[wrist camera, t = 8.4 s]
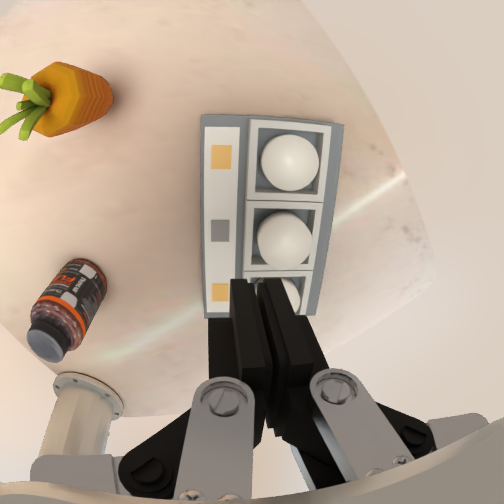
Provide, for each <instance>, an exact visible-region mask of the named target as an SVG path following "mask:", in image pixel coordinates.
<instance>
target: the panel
mask: <svg viewBox="0 0 504 504" xmlns="http://www.w3.org/2000/svg"><path fill="white" fill-rule="evenodd" d="M343 131H344V125H343V124H337V123H330V122H322V121H314V120H304V119H294V118H282V117H268V116H249V115H201V249H202V278H203V300H204V319H208V318H218V317H229V303H230V279H247V281H248V283H253V284H254V285H255V283H256V282H257V281H258V280H259V279H260V278H262V277H290V278H291V279H292V280H293V282H294V284H295V286H296V289H297V291H298V294H299V296H300V306H299V308H298V310H297V311H296V313H295V315H306V316H311V315H315V314H316V309H317V304H318V299H319V294H320V289H321V284H322V279H323V273H324V268H325V263H326V257H327V251H328V245H329V239H330V233H331V227H332V220H333V214H334V207H335V200H336V193H337V185H338V177H339V169H340V160H341V151H342V142H343ZM284 133H288V134H293V135H296V136H299V137H302V138H304V139H306V140H308V141H309V142H310V143H311V144H312V145H313V146H314V148H315V149H316V151H317V154H318V158H319V167H318V171H317V174H316V176H315V177H314V179H313V180H312V181H311V182H310V183H309V184H308V185H307V186H305V187H304V188H302V189H299V190H295V191H286V190H282V189H279V188H277V187H275V186H274V185H273V184H272V183H271V182H270V181H269V180H268V179H267V177H266V176H265V174H264V173H263V171H262V169H261V166H260V153H261V150H262V148H263V146H264V145H265V143H266V142H267V141H268V140H269V139H270V138H272V137H274V136H276V135H279V134H284ZM280 211H286V212H291V213H294V214H296V215H297V216H299V217H300V218H301V219H302V221H303V222H304V224H305V225H306V226H307V228H308V229H309V231H310V233H311V235H312V241H313V243H312V249H311V252H310V254H309V255H308V257H307V258H306V259H305V260H304V261H303V262H302V263H301V264H299V265H297V266H295V267H292V268H288V269H279V268H275V267H272V266H271V265H269V264H268V263H266V262H265V260H264V259H263V258H262V256H261V253H260V250H259V246H258V243H257V230H258V227H259V225H260V224H261V222H262V221H263V220H264V219H265V218H266V217H267V216H269V215H271V214H273V213H276V212H280Z"/></svg>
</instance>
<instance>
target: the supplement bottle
mask: <svg viewBox="0 0 504 504" xmlns="http://www.w3.org/2000/svg"><path fill="white" fill-rule="evenodd" d="M105 294H106V282H105V278H104V276H103V274H102V273H101V272H100V270H99V269H98V268H97V267H96V266H94V265H93V264H92V263H90V262H88V261H85V260H79V259H77V260H72V261H70V262H68V263H67V264H66V265H65V266H64V267H63V268H62V269H61V270H60V272H59V273H58V274H57V276H56V277H55V278H54V279H53V281H52V282H51V283H50V285H49V286H48V287H47V288H46V290H45V291H44V292H43V293H42V295H41V296H40V297H39V299H38V300H37V302H36V303H35V304H34V306H33V308H32V310H31V315H30V317H31V324H32V325H31V328H30V329H29V331H28V333H27V342H28V344H29V346H30V347H31V349H32V350H33V351H34V352H35V353H36V354H37V355H38V356H39V357H41V358H42V359H44V360H46V361H49V362H53V363H57V362H60V361H61V360H62V359H63V357H64V355H65V353H66V352H67V351H72V350H75V349H76V348H77V347H79V345H80V344H81V342H82V340H83V338H84V336H85V334H86V332H87V330H88V328H89V326H90V324H91V322H92V320H93V318H94V316H95V314H96V312H97V310H98V308H99V306H100V304H101V302H102V300H103V298H104V296H105Z"/></svg>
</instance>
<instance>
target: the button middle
mask: <svg viewBox="0 0 504 504" xmlns="http://www.w3.org/2000/svg"><path fill="white" fill-rule="evenodd" d="M257 243H258V246H259V250H260V253H261V256H262V258H263V259H264V260H265V262H266V263H268V264H269V265H271V266H272V267H275V268H279V269H288V268H292V267H295V266H297V265H299V264H301V263H302V262H303V261H304V260H305V259H306V258H307V257H308V255H309V254H310V252H311V249H312V243H313V241H312V235H311V233H310V231H309V229H308V228H307V226H306V225H305V224H304V222H303V221H302V219H301V218H300V217H299V216H297V215H296V214H294V213H291V212H286V211H280V212H276V213H273V214H271V215H269V216H267V217H266V218H265V219H264V220H263V221H262V222H261V224H260V225H259V227H258V230H257Z"/></svg>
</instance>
